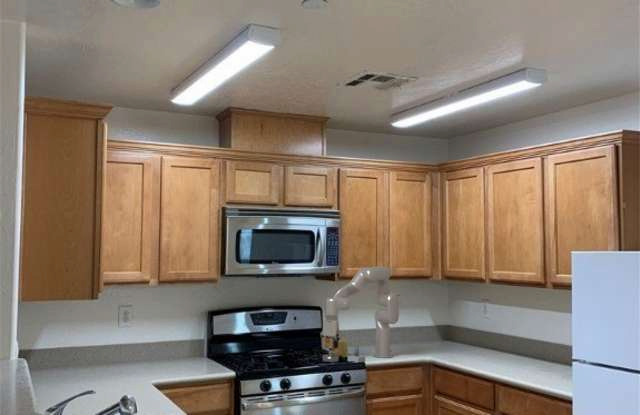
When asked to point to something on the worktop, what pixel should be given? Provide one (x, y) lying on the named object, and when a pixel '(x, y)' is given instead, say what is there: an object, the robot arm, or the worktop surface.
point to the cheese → (341, 349)
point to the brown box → (328, 342)
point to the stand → (356, 356)
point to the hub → (330, 357)
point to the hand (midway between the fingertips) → (330, 346)
